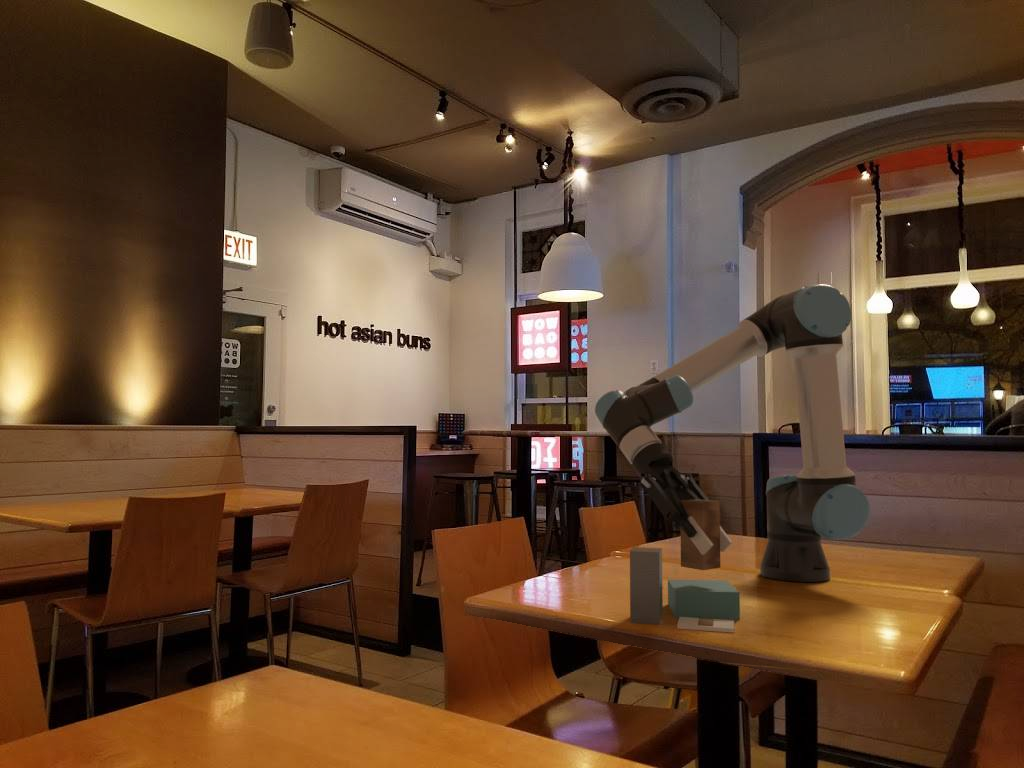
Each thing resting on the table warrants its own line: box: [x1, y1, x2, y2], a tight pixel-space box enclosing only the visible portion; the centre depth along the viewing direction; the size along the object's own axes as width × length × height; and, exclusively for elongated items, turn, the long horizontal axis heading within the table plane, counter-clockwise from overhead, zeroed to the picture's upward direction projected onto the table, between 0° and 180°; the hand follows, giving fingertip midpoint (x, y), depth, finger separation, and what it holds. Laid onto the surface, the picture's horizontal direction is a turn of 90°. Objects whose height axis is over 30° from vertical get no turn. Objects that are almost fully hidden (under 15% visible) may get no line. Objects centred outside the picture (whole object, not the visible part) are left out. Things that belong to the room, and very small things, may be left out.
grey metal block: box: [629, 546, 664, 625], centre depth 130 cm, size 5×5×12 cm
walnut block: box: [679, 499, 721, 571], centre depth 138 cm, size 5×5×12 cm
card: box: [676, 617, 735, 634], centre depth 126 cm, size 9×6×1 cm, turn 74°
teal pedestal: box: [667, 579, 741, 621], centre depth 137 cm, size 11×11×5 cm
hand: (717, 548), depth 135 cm, fingers closed on walnut block, 5 cm apart
